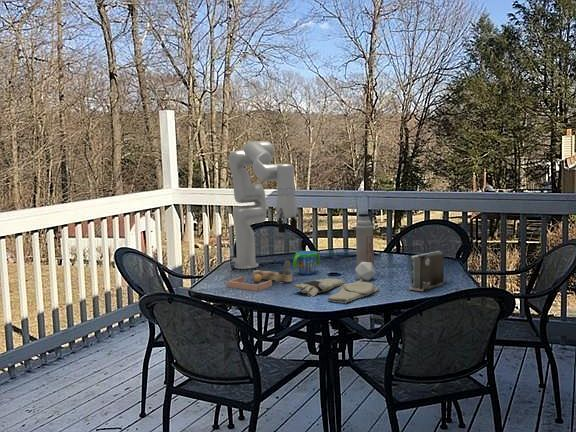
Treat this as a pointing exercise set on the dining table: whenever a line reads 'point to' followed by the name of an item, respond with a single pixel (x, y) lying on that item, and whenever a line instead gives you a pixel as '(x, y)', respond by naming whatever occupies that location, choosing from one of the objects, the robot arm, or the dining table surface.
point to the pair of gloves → (346, 290)
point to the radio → (427, 271)
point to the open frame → (240, 285)
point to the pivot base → (280, 281)
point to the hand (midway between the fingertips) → (288, 231)
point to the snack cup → (306, 261)
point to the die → (365, 271)
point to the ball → (257, 277)
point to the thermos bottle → (364, 240)
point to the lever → (276, 274)
